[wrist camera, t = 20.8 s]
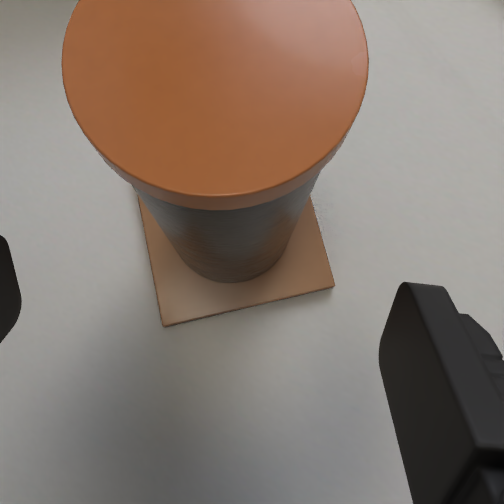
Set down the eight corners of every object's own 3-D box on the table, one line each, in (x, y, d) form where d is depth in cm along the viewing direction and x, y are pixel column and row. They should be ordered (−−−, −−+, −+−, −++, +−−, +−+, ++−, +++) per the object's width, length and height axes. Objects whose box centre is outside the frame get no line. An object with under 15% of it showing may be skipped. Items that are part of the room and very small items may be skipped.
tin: (180, 301, 19) (86, 229, 8) (155, 178, 20) (41, -47, 9) (309, 271, 20) (409, 159, 8) (277, 153, 21) (323, -95, 9)
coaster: (164, 327, 19) (162, 327, 19) (133, 167, 21) (131, 162, 21) (333, 287, 20) (335, 285, 20) (290, 134, 22) (291, 129, 21)
